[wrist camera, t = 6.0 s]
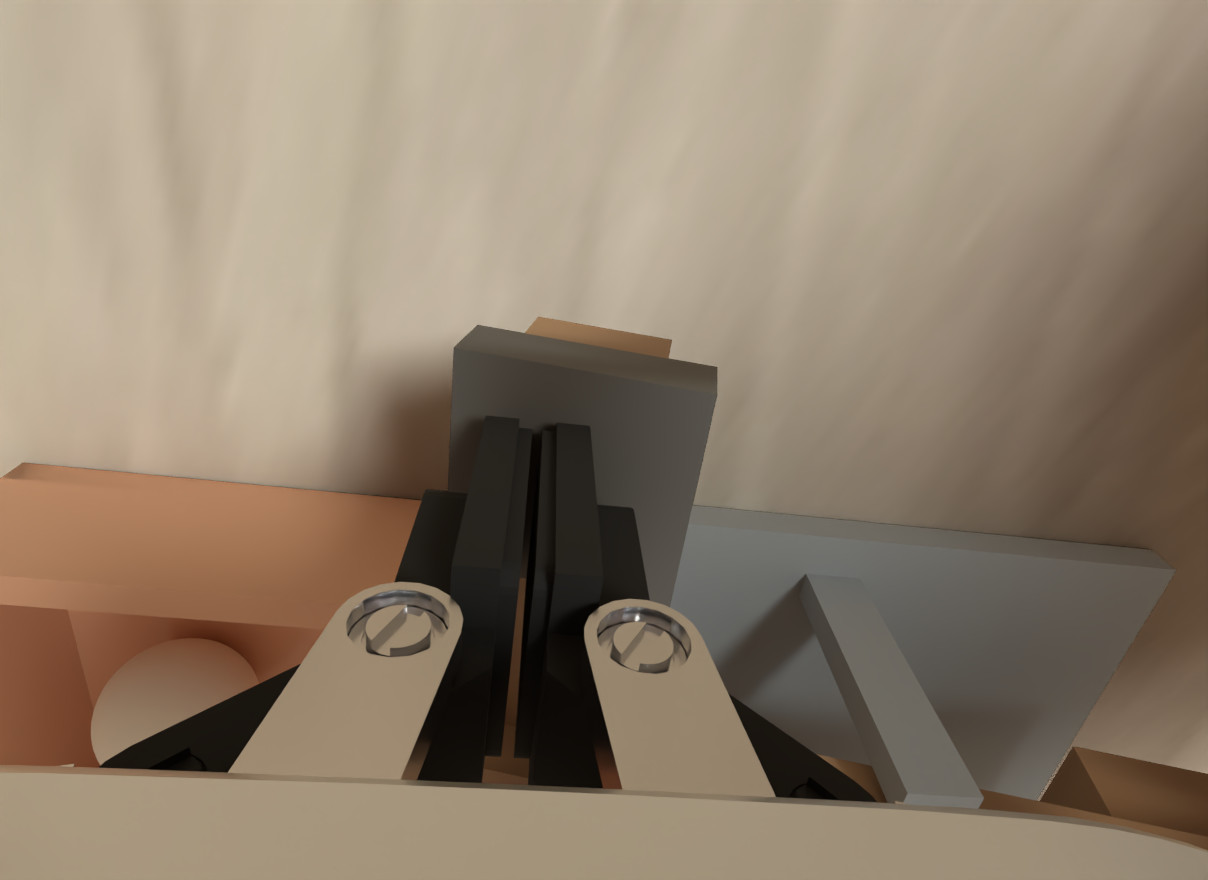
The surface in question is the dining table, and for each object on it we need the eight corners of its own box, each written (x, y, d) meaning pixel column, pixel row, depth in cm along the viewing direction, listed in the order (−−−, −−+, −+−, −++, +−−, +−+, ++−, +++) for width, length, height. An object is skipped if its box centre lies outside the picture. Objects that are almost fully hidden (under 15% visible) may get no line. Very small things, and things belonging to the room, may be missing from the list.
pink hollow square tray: (461, 504, 20) (432, 610, 16) (446, 782, 25) (422, 915, 21) (22, 462, 19) (-126, 565, 15) (101, 761, 24) (6, 896, 20)
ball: (270, 685, 18) (79, 745, 16) (281, 789, 20) (109, 856, 18) (240, 593, 21) (74, 633, 19) (252, 691, 23) (101, 739, 21)
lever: (1524, 441, 14) (2083, 676, 8) (1127, 938, 22) (1275, 1241, 16) (533, 272, 15) (424, 375, 10) (486, 795, 23) (409, 1027, 17)
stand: (1151, 549, 22) (1434, 782, 14) (991, 826, 27) (1136, 1090, 20) (488, 485, 20) (437, 714, 13) (466, 796, 26) (423, 1073, 18)
